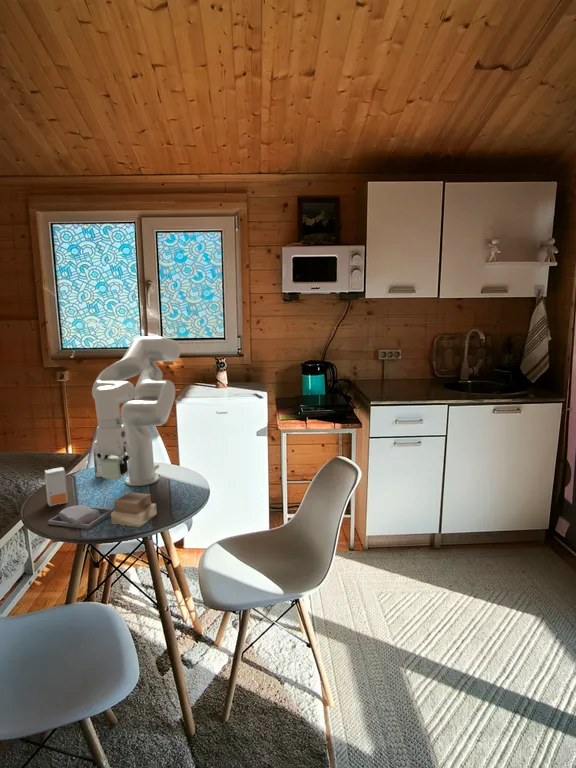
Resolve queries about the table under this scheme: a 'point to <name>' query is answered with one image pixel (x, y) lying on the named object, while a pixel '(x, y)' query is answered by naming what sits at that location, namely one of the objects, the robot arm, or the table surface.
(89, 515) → the stone block
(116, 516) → the beech block
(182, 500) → the table surface
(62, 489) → the skincare box
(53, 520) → the tray rim
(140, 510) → the walnut block
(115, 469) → the green cube
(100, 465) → the syrup box
